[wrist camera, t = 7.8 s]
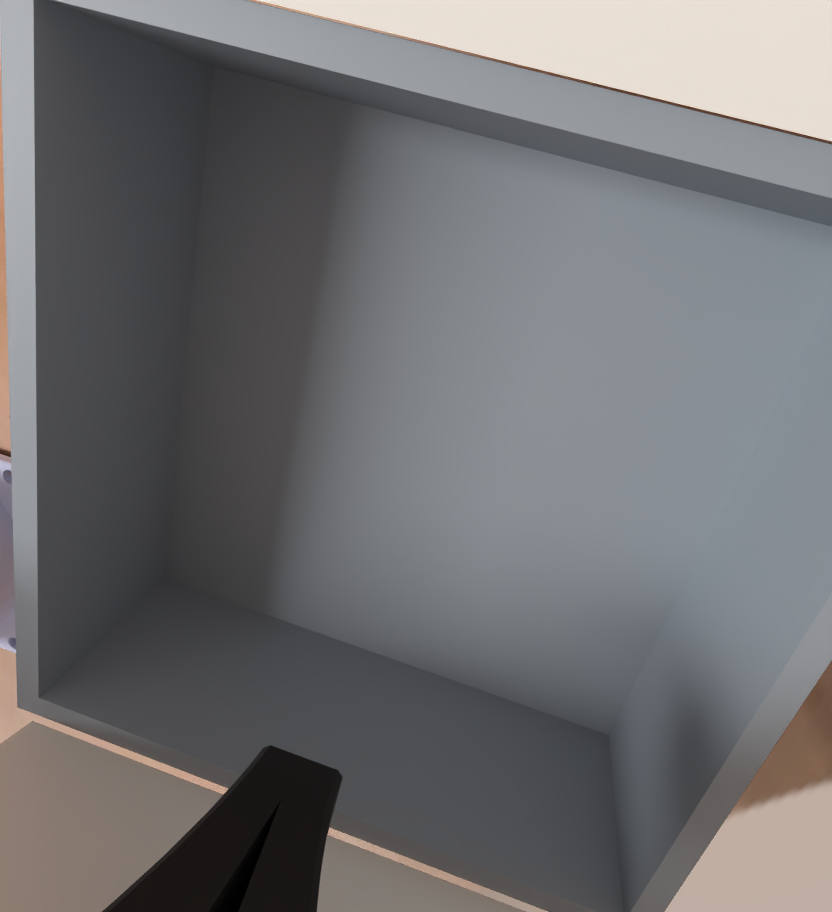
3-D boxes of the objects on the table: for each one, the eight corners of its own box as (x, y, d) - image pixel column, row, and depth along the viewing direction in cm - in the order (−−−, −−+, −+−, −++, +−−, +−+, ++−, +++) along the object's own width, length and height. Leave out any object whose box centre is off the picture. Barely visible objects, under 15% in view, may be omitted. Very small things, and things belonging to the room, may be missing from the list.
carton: (156, 579, 21) (17, 707, 16) (203, 35, 15) (-3, -61, 10) (619, 743, 20) (640, 946, 14) (896, 212, 13) (1127, 216, 8)
